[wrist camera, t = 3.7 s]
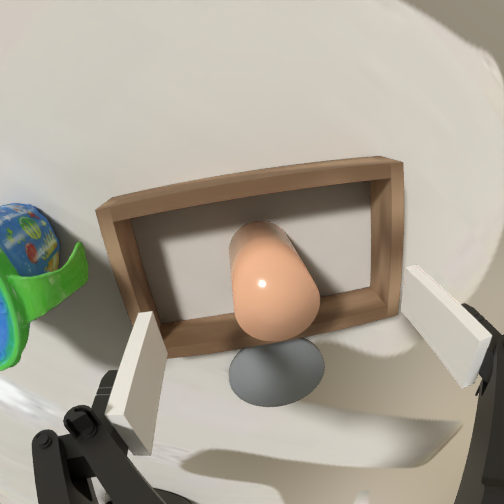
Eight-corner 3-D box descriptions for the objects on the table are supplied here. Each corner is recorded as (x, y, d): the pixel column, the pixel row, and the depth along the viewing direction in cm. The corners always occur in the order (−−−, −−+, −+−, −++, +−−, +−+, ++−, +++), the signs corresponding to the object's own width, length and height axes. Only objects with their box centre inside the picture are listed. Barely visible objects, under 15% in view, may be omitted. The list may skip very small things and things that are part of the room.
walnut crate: (379, 294, 27) (397, 314, 24) (153, 334, 26) (146, 360, 23) (379, 155, 22) (403, 162, 19) (111, 197, 22) (95, 210, 18)
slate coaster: (323, 392, 31) (324, 396, 30) (237, 408, 31) (238, 412, 30) (322, 325, 28) (324, 329, 27) (220, 344, 27) (220, 348, 27)
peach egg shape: (292, 272, 25) (321, 332, 18) (234, 282, 25) (241, 347, 18) (287, 216, 24) (318, 260, 16) (224, 226, 23) (227, 275, 16)
